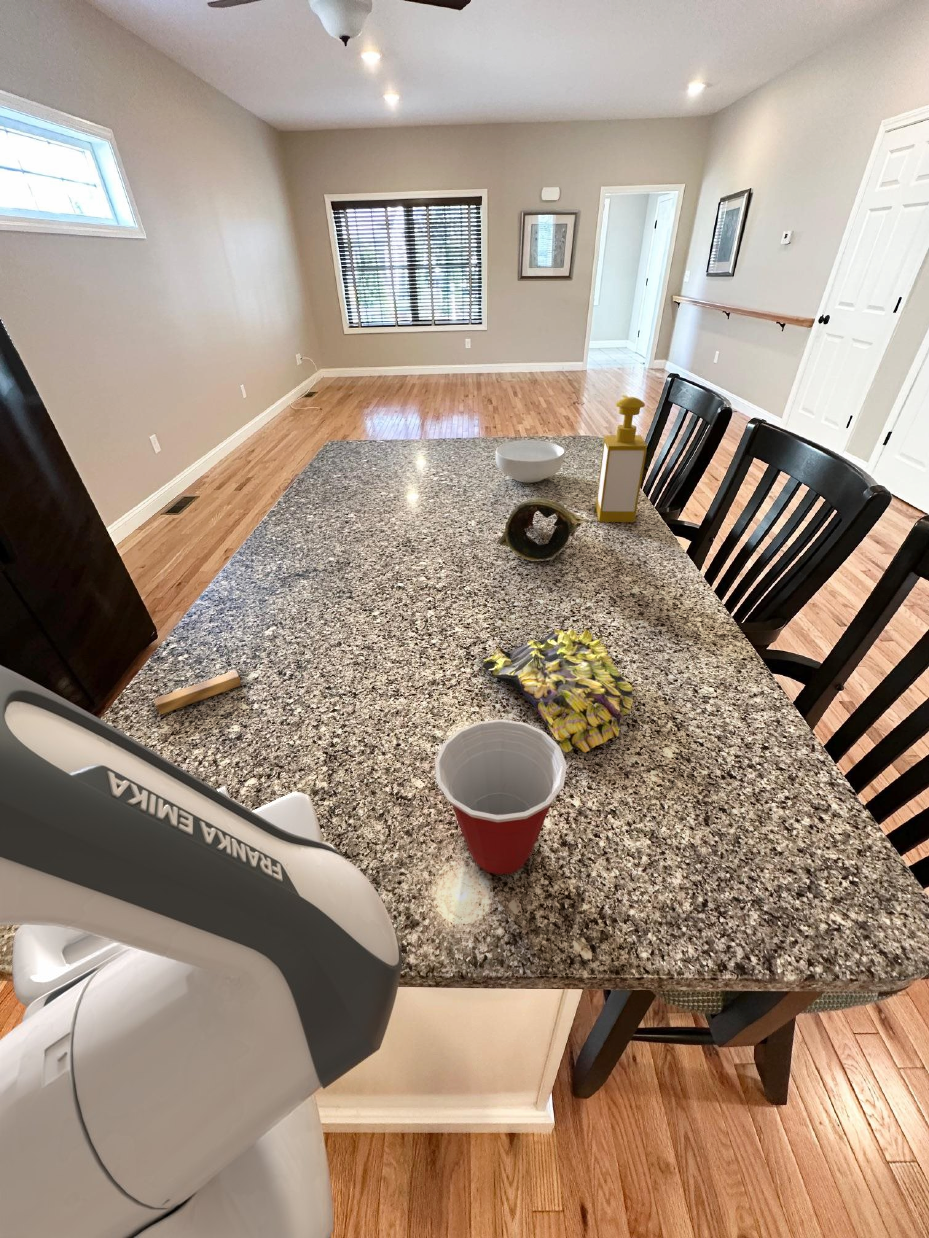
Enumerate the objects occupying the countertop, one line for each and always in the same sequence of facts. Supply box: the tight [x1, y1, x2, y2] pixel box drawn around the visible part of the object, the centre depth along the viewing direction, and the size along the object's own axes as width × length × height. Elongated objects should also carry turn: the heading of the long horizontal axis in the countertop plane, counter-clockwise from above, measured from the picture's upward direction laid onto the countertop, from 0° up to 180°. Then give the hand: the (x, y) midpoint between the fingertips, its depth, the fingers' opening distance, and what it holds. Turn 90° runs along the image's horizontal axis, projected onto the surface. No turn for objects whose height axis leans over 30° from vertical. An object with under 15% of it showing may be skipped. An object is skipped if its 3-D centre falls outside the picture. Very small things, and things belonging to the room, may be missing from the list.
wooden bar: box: [154, 669, 243, 715], centre depth 67 cm, size 10×2×2 cm, turn 122°
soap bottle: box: [595, 394, 648, 523], centre depth 105 cm, size 7×13×24 cm, turn 174°
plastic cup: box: [434, 718, 568, 876], centre depth 45 cm, size 11×11×12 cm
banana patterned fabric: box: [482, 628, 634, 753], centre depth 64 cm, size 20×16×6 cm
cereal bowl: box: [495, 439, 565, 484], centre depth 128 cm, size 17×17×7 cm
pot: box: [495, 497, 590, 562], centre depth 97 cm, size 17×11×18 cm
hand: (175, 812), depth 43 cm, fingers closed on supplement bottle, 5 cm apart
